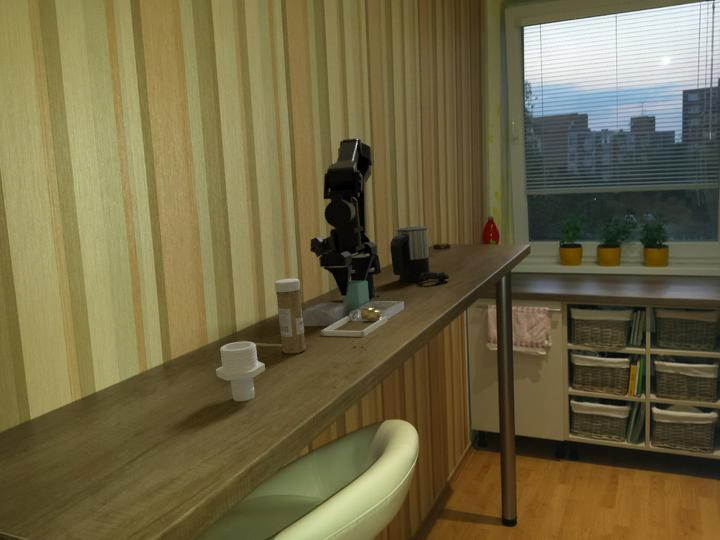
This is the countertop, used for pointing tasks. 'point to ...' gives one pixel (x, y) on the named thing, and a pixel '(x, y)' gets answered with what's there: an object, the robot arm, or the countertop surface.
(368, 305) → the channel
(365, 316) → the chip
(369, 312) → the chip
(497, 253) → the countertop surface
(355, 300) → the mint green brick
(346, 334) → the chip tray
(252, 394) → the pipe fitting
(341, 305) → the stone block
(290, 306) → the sprinkles bottle
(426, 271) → the milk frother
